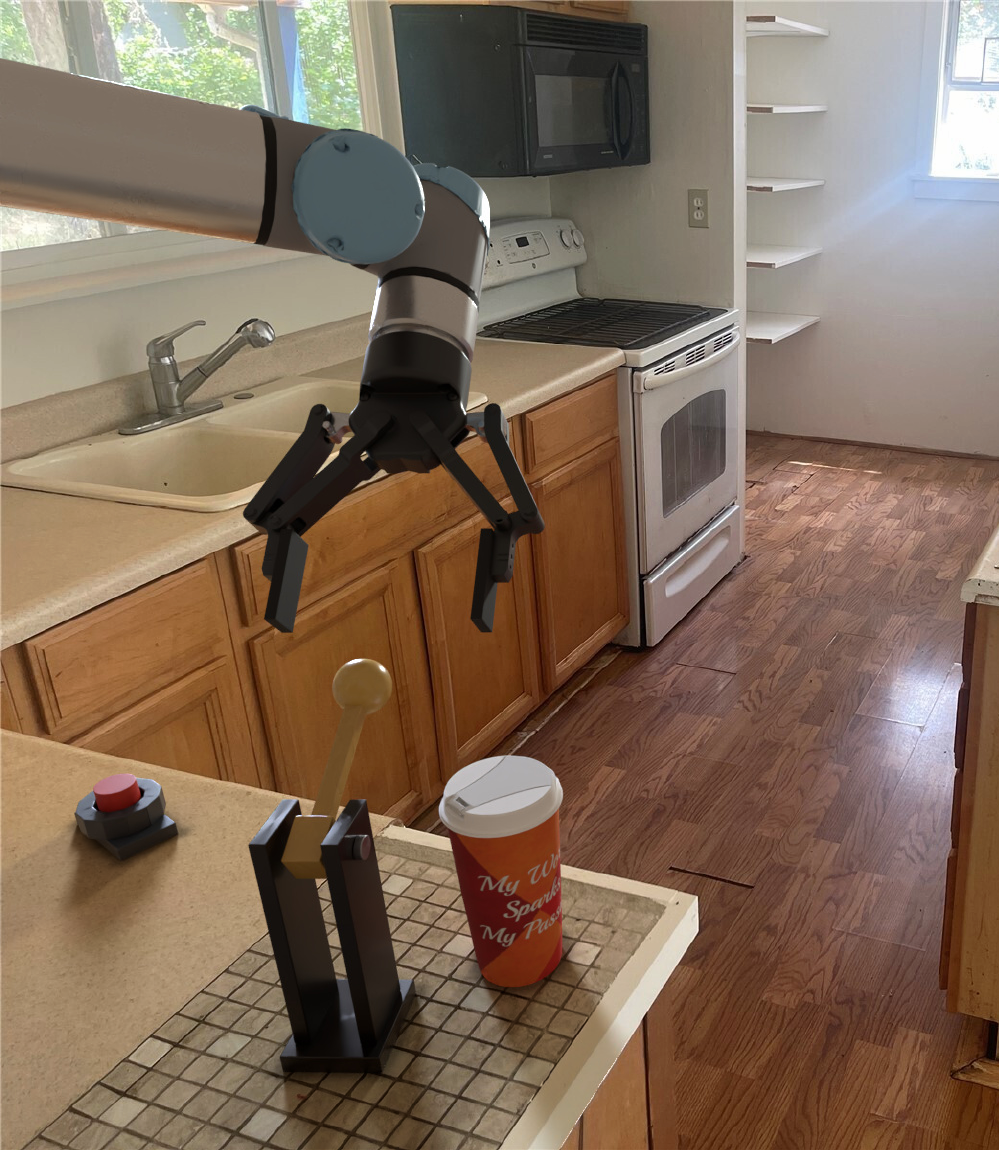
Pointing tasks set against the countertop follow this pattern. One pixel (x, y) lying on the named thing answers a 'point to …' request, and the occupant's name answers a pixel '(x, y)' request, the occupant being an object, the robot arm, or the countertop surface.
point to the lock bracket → (301, 949)
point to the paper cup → (508, 864)
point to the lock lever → (337, 763)
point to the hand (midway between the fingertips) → (379, 626)
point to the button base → (128, 822)
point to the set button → (116, 792)
